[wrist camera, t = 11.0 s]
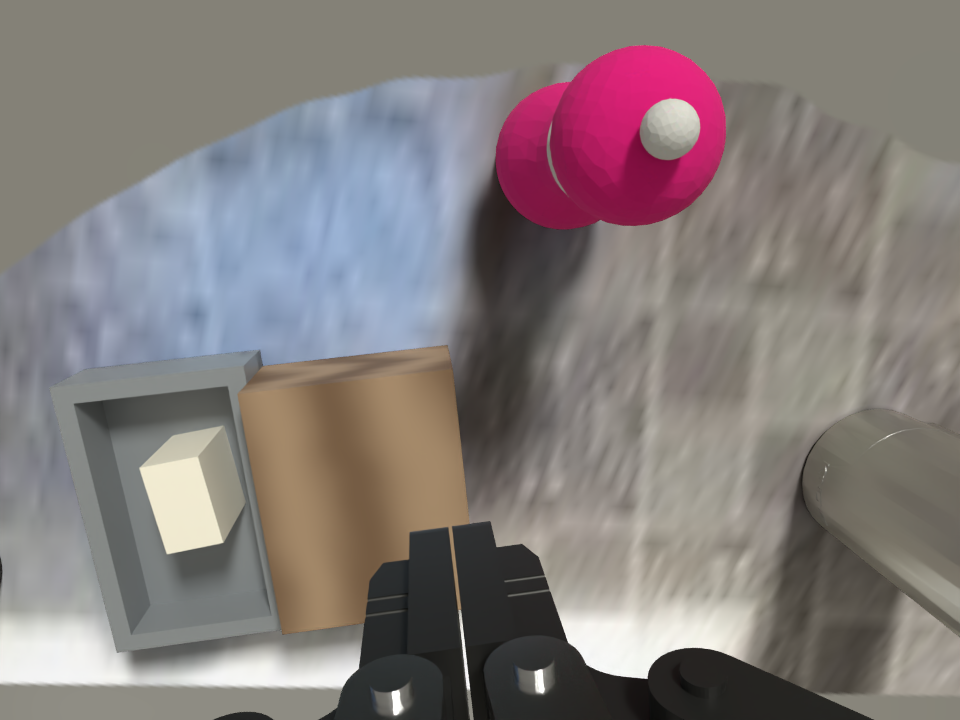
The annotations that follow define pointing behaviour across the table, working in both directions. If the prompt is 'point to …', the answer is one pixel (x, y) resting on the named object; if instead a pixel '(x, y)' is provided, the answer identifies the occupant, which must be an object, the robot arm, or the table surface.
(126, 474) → the box
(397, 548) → the ledge
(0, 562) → the travel mug
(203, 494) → the cream square block
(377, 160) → the table surface
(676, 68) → the pepper mill
